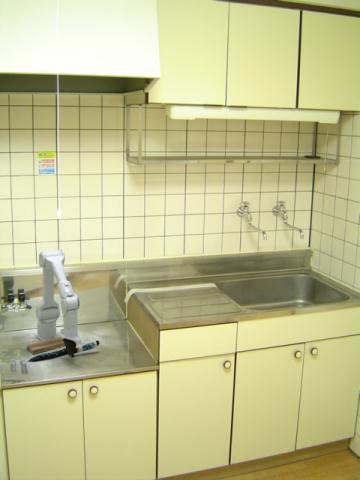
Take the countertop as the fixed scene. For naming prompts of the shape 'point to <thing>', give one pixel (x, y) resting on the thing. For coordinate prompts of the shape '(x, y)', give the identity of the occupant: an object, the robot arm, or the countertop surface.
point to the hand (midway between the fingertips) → (70, 354)
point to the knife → (64, 352)
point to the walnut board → (45, 345)
